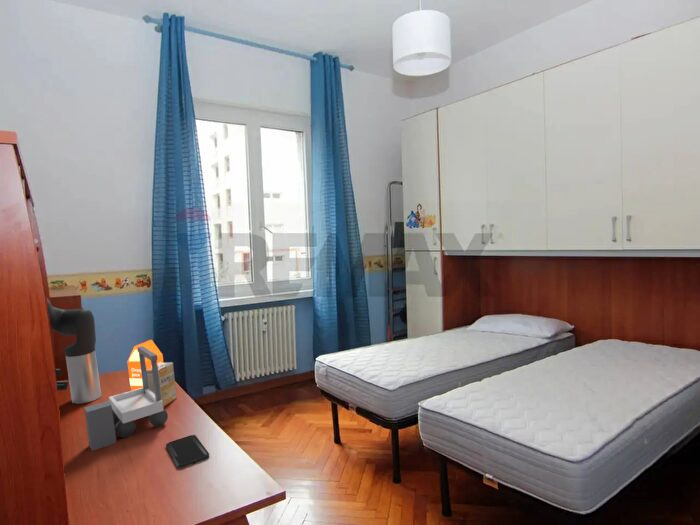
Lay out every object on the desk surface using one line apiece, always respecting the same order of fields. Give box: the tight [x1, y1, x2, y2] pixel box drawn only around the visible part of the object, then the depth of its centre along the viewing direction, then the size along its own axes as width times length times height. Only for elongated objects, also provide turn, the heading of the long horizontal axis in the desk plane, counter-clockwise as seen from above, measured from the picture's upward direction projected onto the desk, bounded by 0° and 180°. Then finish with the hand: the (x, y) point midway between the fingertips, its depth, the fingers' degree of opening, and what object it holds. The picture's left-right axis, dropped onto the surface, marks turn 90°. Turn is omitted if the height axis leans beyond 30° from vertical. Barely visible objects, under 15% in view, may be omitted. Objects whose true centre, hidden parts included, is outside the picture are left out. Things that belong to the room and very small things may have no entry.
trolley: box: [108, 346, 169, 439], centre depth 132 cm, size 18×14×22 cm
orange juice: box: [127, 339, 164, 391], centre depth 154 cm, size 8×9×20 cm
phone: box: [165, 434, 210, 469], centre depth 113 cm, size 8×1×15 cm
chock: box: [83, 400, 117, 452], centre depth 121 cm, size 4×6×11 cm
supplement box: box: [147, 362, 177, 408], centre depth 148 cm, size 8×5×13 cm, turn 168°
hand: (63, 379), depth 117 cm, fingers open, 8 cm apart
